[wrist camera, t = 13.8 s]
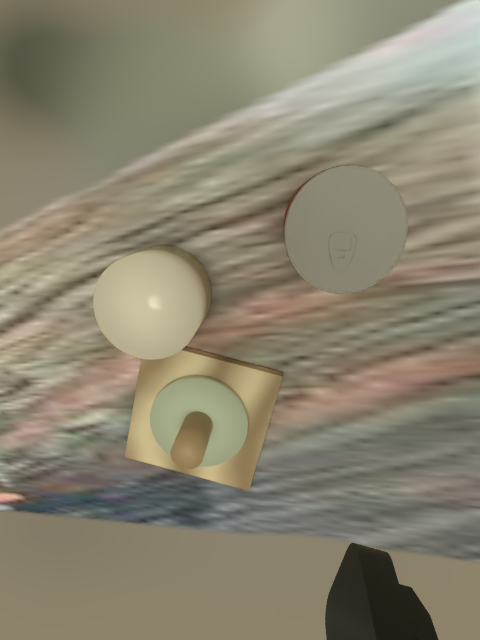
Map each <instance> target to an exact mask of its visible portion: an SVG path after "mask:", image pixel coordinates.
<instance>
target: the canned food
mask: <svg viewBox="0 0 480 640" xmlns="http://www.w3.org/2000/svg"><path fill="white" fill-rule="evenodd" d="M407 230H408V219H407V213H406V208H405V205H404V202H403V200H402V197H401V195H400V194H399V192H398V191H397V189H396V188H395V186H394V185H393V184H392V183H391V182H390V181H389V180H388V179H387V178H386V177H384V176H383V175H381V174H379V173H378V172H376V171H374V170H371V169H368V168H365V167H362V166H354V165H344V166H336V167H333V168H330V169H327V170H324V171H322V172H320V173H319V174H317V175H315V176H313V177H312V178H310V179H309V180H308V181H307V182H305V183H304V184H303V185H302V186H301V187H299V188H298V190H297V191H296V192H295V193H294V195H293V196H292V198H291V200H290V202H289V204H288V207H287V210H286V213H285V221H284V242H285V247H286V251H287V255H288V257H289V259H290V261H291V264H292V266H293V267H294V268H295V270H296V271H297V272H298V274H299V275H300V276H301V277H302V278H303V279H305V280H306V281H307V282H308V283H309V284H311V285H313V286H314V287H316V288H318V289H320V290H323V291H326V292H329V293H336V294H348V293H354V292H358V291H362V290H365V289H367V288H369V287H371V286H373V285H375V284H376V283H377V282H379V281H380V280H382V279H383V278H384V277H385V276H386V275H387V274H388V273H389V272H390V271H391V270H392V269H393V267H394V266H395V264H396V263H397V261H398V260H399V258H400V256H401V254H402V251H403V249H404V246H405V242H406V238H407Z"/></svg>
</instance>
